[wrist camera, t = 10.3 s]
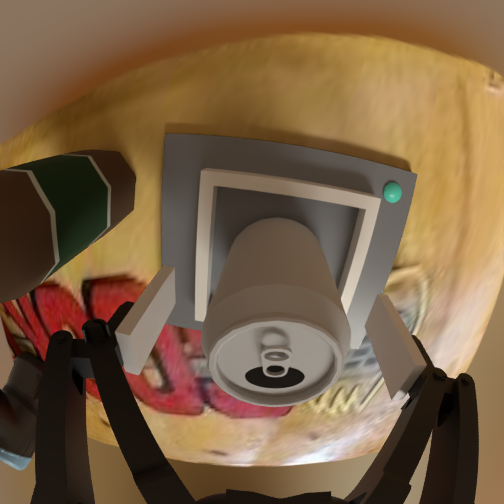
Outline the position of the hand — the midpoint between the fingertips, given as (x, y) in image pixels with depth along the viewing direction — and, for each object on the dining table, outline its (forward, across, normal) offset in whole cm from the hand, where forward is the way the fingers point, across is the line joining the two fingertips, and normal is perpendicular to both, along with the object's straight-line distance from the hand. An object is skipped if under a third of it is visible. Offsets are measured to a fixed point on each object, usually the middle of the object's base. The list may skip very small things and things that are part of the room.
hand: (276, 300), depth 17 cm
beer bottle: (+7, -16, +4) cm, 18 cm away
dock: (+7, 0, 0) cm, 7 cm away
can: (+6, 0, 0) cm, 6 cm away
